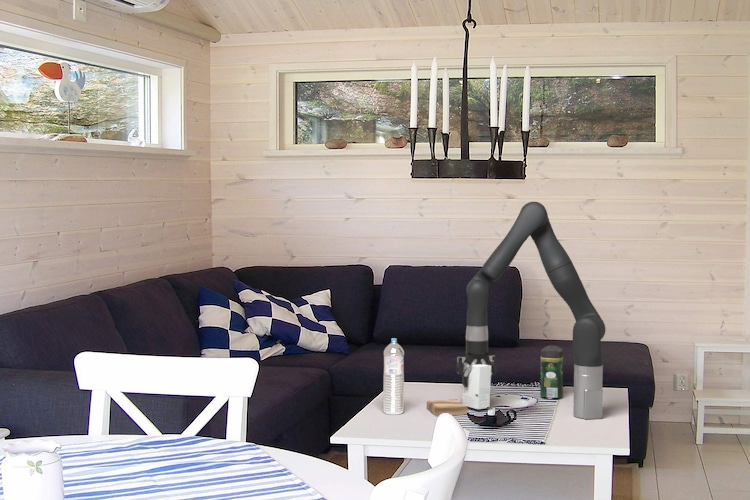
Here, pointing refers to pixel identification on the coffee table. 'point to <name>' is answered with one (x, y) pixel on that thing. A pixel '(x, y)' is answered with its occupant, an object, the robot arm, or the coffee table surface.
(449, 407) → the plinth
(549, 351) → the coffee jar
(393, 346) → the water bottle
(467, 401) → the skincare box
